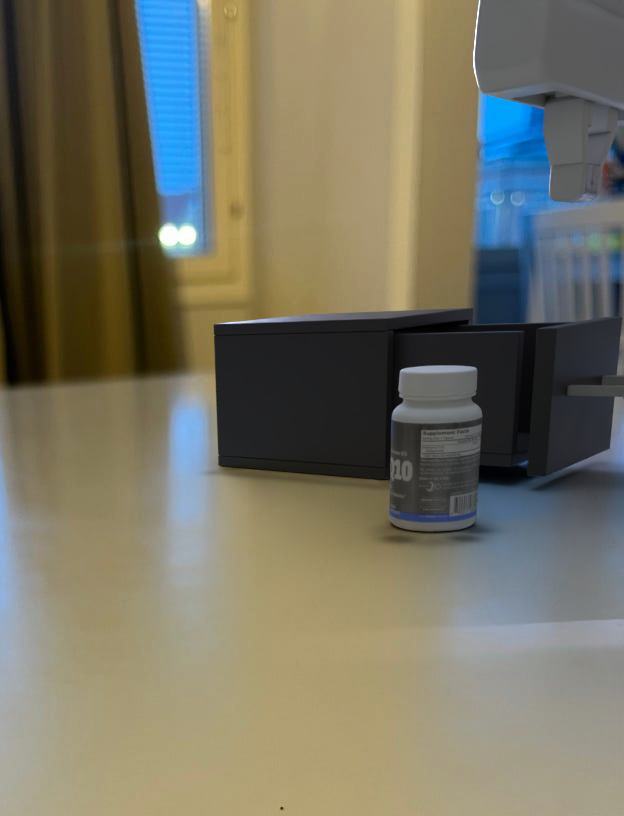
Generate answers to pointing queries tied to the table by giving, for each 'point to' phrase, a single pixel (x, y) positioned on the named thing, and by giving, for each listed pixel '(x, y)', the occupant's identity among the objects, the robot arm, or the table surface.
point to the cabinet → (312, 390)
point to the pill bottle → (435, 449)
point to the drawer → (529, 385)
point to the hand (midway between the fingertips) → (574, 201)
